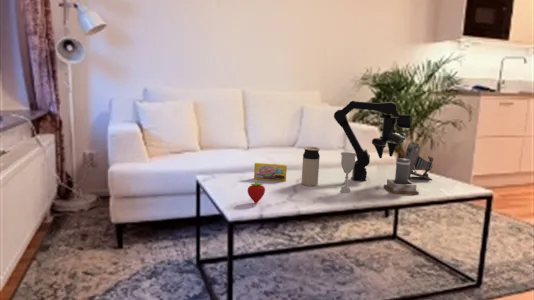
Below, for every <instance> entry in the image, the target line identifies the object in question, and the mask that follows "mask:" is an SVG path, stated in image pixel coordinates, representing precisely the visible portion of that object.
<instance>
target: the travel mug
mask: <svg viewBox="0 0 534 300" xmlns="http://www.w3.org/2000/svg"><path fill="white" fill-rule="evenodd" d="M303 149H304V152H303V155H302V169H301V184H302V185H303V186H306V187H307V186H308V187H315V186H317V185H319V169H320V154H319V151H320V148H319V147H317V146H305V147H304V148H303Z"/></svg>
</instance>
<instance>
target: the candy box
mask: <svg viewBox="0 0 534 300" xmlns="http://www.w3.org/2000/svg"><path fill="white" fill-rule="evenodd" d="M287 169H288V165H287V164H280V163H278V164H277V163H264V162H254V172H253V174H254V175H253V180H263V181H265V180H267V181H277V182H278V181H279V182H286V181H287V171H288V170H287Z"/></svg>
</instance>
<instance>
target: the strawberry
mask: <svg viewBox="0 0 534 300" xmlns="http://www.w3.org/2000/svg"><path fill="white" fill-rule="evenodd" d="M256 181H257V182H254V183H251V184H250V185H249V186H248V187H247V194H248V196H249V198H250V199H251V200H252V201H253V202H254V203H255V204H258V203H259V201H261V199H262V198H263V197H264V196H265V192H266V188H265V186H264V185H263V183H261V182H260V183H259V179H256Z"/></svg>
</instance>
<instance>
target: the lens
mask: <svg viewBox="0 0 534 300" xmlns="http://www.w3.org/2000/svg"><path fill="white" fill-rule="evenodd" d="M409 167H410V160H409V159H404V157H403V158H402V157H398V158H396V167H395V174H394V175H395V176H394V178H395V183H396V184H408V180H409V178H408V176H409Z"/></svg>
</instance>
